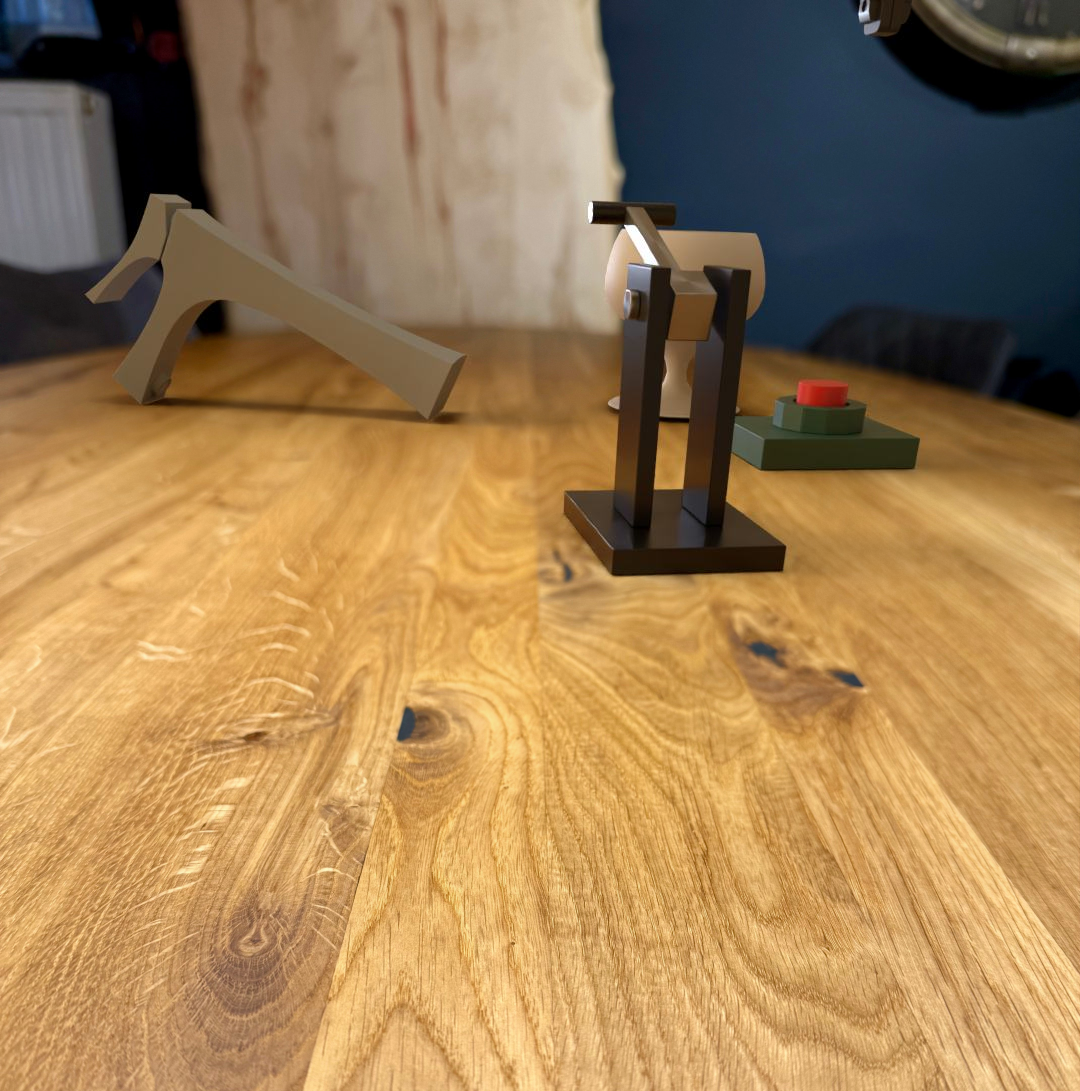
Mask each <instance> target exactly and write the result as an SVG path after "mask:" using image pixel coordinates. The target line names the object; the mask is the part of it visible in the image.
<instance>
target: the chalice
mask: <svg viewBox="0 0 1080 1091" xmlns="http://www.w3.org/2000/svg"><path fill="white" fill-rule="evenodd" d="M657 231H658V232H659V234H660V236H661V237H662V239H663V241H664V242H665V244H666V246H667V247H668V249H669V251H670V252H671V254H672V256H673V257H674V259H675V261H676V262H677V264H678V266H679V267H680V269H681V270H687V271H703V267H704V265H721V266H728V267H735V268H742V269H748V270H751V281H750V290H749V299H748V308H747V317H746V321H748V320H749V319H750V318H751V317H752V316H753V315H754V314H755V313H756V311H757V310H758V309H759V308H760V305H761V303H762V301H763V299H764V295H765V290H766V267H765V258H764V252H763V248H762V245H761V242H760V240H759V239H760V238H759V237H758V235H757V233H755V232H753V233H752V232H735V231H733V232H732V231H710V230H683V229H657ZM629 263H645V262H644V261H643V259H642V257H641V255H640V253H639V251H638V250H637V248H636V246H635V244H634V242H633V241H632V239H631V237H630V235H629V233H628V231H627V230H626V228H621V230H620V232H619V233H618V236H617V237H616V239H615V241H614V244H613V245H612V249H611V252H610V255H609V258H608V262H607V265H606V272H605V276H604V294H605V298H606V302H607V303H608V305H609V307H610V308H611V310H612V311H613V312H614V313H615V314H616V315H617V316H618V317H619V318H620V319H622V320H623V321H624V322H625V316H624V296H625V293H626V291H627V276H628V264H629ZM696 343H697V341H672V340H666V343H665V356H664V362H665V366H666V367H665V368H666V374H665V377H664V380H663V381H662V394H661V406H660V418H666V419H686V420H687V419H690V408H691V397H692V387H691V386H690V384H689V382H688V379H687V378H688V377H687V375H688V374H687V372H688V371H687V370H688V367H689V364H690V362H691V360H692V359H693V357H695V354H696ZM619 403H620V395H618V396H614V397H613V398H611V399H609V401H608V402H607V404H608V405H609V407H611V408H614V409H615V410H618V411H619ZM740 411H741V408H740V407H739V406H738V405H737V407H736V414H738V413H740Z"/></svg>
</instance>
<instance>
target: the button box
mask: <svg viewBox="0 0 1080 1091" xmlns="http://www.w3.org/2000/svg"><path fill="white" fill-rule="evenodd" d="M796 400H797V394H792V395H791V394H790V395H782V396H778V397H777V399H775V402H774V410H773V415H762V416H761V415H758V416H757V415H736V416H735V425H734V434H733V443H732V452H731V454H733V455H736V456H738V457H739V458H740V459H742V460H744V461H746V462H747V463H749V464H750V465H752V466H754V467H755V468H756V469H759V470H761V471H782V470H783V471H788V470H793V471H794V470H796V471H797V470H879V469H880V470H884V469H885V470H886V469H887V470H888V469H889V470H890V469H899V470H900V469H915V468H916V463H917V459H918V453H919V448H920V443H921V438H920V437H918V436H915V435H913V434H911V433H908V432H905V431H903V430H900V429H898V428H895V427H892V426H890V425H887V424H885V423H882V422H880V421H877V420H874V419H872V418H870V417H867V416H866V412H867V406H868V404H867V403H864V402H861V401H858V400H855V399H850V398H847V400H846V406H843V407H822V406H810V405H805V404H799V403H796Z"/></svg>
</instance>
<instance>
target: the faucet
mask: <svg viewBox="0 0 1080 1091" xmlns="http://www.w3.org/2000/svg"><path fill="white" fill-rule="evenodd" d="M160 261H161V266H162V269H163V281H162V287H161V289H160V292H159V295H158V298H157V301H156V303H155V306H154V308H153V310H152V312H151V315H150V317H149V318H148V321H147V322H146V324H145V326H144V328H143V330H142V331H141V333H140V335H139V336H138V338H137V340H136V342H135V343H134V344H133V346H132V348H131V350H130V351H128V354H127V355H126V356H125V358H124V359H123V361H122V362H121V363H120V364H119V366H118V368H117V369H116V370H115V371H114V373H113V374H112V375H111V377H112V378H113V379H114V380H115V381H116V383H118V384H119V385H120V387H122V388H123V389H124V390H125V391H126V392H127V393H128V394H129V395H130V396H131V397H132V398H133V399H134V400H136V401H137V403H138V404H139V405H145V404H147V403H150V402H153V401H156V400H160V399H162V398H165V396H166V392H167V390H168V388H169V387H170V385H171V383H172V378H171V377H172V374H173V372H174V369H175V367H176V363H177V360H178V358H179V356H180V353H181V351H182V348H183V346H184V344H185V342H186V339H187V337H188V335H189V333H190V331H191V330H192V328H193V326H194V324H195V322H196V321H197V320H198V319H199V318H200V315H201V314H203V312H204V311H205V310H206V309H207V308H208V307H210V305H212V304H213V303H215V302H218V301H229V302H235V303H238V304H242V305H244V306H247V307H250V308H252V309H255V310H258V311H260V312H263V313H265V314H267V315H270V316H272V317H274V318H276V319H278V320H280V321H282V322H283V323H285V324H287V325H289V326H291V327H292V328H294V329H296V330H298V331H299V332H302V333H303V334H305V335H306V336H308V337H309V338H311V339H313V340H314V341H316V342H317V343H319V344H321V345H322V346H324V347H326V348H327V349H329V350H330V351H332V352H334V353H335V354H337V355H338V356H340V357H342V358H343V359H344V360H346V361H348V362H349V363H351V364H352V365H353V366H355V367H357V368H358V369H360V370H361V371H363V372H364V373H365V374H367V375H368V376H370V377H372V378H373V379H374V380H376V381H377V382H379V383H380V384H382V385H383V386H385V387H386V388H387V389H388V390H390V391H391V392H392V393H394V394H395V395H397V396H398V397H400V398H401V399H402V400H403V401H404V402H406V403H407V404H408V405H410V406H411V407H412V408H413V409H414V410H415V411H416V412H418V413H419V414H420V415H421V416H422V417H424V418H425V419H426V420H431V419H433V418H435V417H436V416H437V415H439V413H440V412H441V411H442V410H444V409H445V406H446V404H447V402H448V399H449V398H450V396H451V393H452V391H453V389H454V386H455V385H456V383H457V380H458V378H459V375H460V373H461V371H462V370H463V369H462V368H463V367H464V364H465V362H466V360H467V358H468V355H467V354H465V353H462V352H459V351H456V350H453V349H450V348H448V347H445V346H443V345H440V344H437V343H435V342H432V341H430V340H428V339H425V338H423V337H421V336H419V335H417V334H414V333H412V332H410V331H408V330H406V329H403V328H401V327H400V326H398V325H395V324H393V323H390V322H388V321H387V320H385V319H383V318H381V317H379V316H376V315H374V314H372V313H370V312H369V311H366V310H364V309H362V308H360V307H358V306H356V305H354V304H353V303H350V302H349V301H347V300H345V299H343V298H342V297H340V296H338V295H336V294H333V293H331V292H329V291H328V290H326V289H324V288H322V287H320V286H319V285H317V284H315V283H313V282H311V281H309V280H308V279H306V278H305V277H303V276H302V275H299V274H298V273H296V272H295V271H293V270H292V269H290V268H289V267H287V266H285V265H283V264H282V263H281V262H279V261H277V260H275V259H274V258H272V257H271V256H269V255H268V254H266V253H265V252H262V250H259V249H258V248H256V246H254V245H252V244H251V243H249V242H248V241H246V240H244V239H243V238H241V237H240V236H239V235H237V234H235V233H234V232H233V231H231V230H230V229H229V228H227V227H226V226H224V225H223V224H221V223H220V222H219V221H218V220H217V219H215V218H213V217H212V216H211V215H210V214H209V213H207V212H206V211H205V210H204V209H199V208H198V209H197V208H192V203H191V202H190V201H189V200H186V199H185V198H183V197H181V196H179V195H178V194H161V193H150V194H149V197H148V201H147V204H146V207H145V210H144V214H143V216H142V219H141V221H140V225H139V227H138V229H137V233H136V234H135V237H134V239H133V240H132V243H131V244H130V246H129V248H128V249H127V251H126V252H125V253H124V255H123V256H122V258H121V260H120V261H119V262H118V263H117V264H116V265H115V266H114V267H113V268H112V269H111V271H109V272H108V273H107V274H106V276H104V277H103V278H102V279H101V280H99V282H97V284H96V285H94V286H93V287H92V288H90V289H89V291H87V292H86V293H85V294H84V295H85V296H86V298H88V299H89V300H90V302H91V303H92V304H94V305H95V304H102V303H109V302H115V301H122V300H123V298H124V297H125V296H126V294H127V293H128V292H129V291H130V289H131V288H132V287H133V285H134V284H136V282H137V281H138V280H139V279H140V278H141V277H142V276H143V274H145V272H147V271H148V270H149V269H150V268H152V267H153V266H154V265H155V264H156V263H158V262H160Z"/></svg>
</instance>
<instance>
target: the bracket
mask: <svg viewBox="0 0 1080 1091" xmlns="http://www.w3.org/2000/svg"><path fill="white" fill-rule="evenodd" d="M703 272H704V274H705V275H706V277H707V278H708V280H709V281H710V283H711V285H712V286H713V288H714V289H715V291H716V292H717V294H718V297H717V301H716V306H715V311H714V315H713V320H712V324H711V329H710V334H709V338H708V341H697V343H696V353H695V355H694V366H693V378H692V386H691V389H692V397H691V408H690V419H689V421H688V429H687V430H688V431H687V439H686V441H687V442H686V452H685V454H686V455H685V461H684V462H685V464H684V475H683V485H682V488H668V489H667V488H665V489H664V488H663V489H659V488H658V489H657V488H656V489H655V480H656V479H655V478H656V468H657V454H658V441H659V429H660V428H659V427H660V418H661V417H660V406H661V394H662V383H663V382H664V380H663V379H664V366H665V359H664V356H665V343H666V331H667V318H668V306H669V293H670V281H671V268H669V267H663V266H658V265H652V264H646V263H629V264H628V276H627V291H626V293H625V296H624V316H625V321H624V325H623V341H622V342H623V343H622V354H621V355H622V357H621V370H620V371H621V372H620V373H621V374H620V387H619V388H620V389H619V396H620V403H619V410H618V420H617V421H618V422H617V438H616V450H615V452H616V453H615V466H614V467H615V468H614V484H613V487H614V488H613V489H590V490H586V489H585V490H579V489H577V490H564V492H563V513H564V514H565V516H566V517H567V519H568V520H569V521H570V522H571V523H572V525H573V527H575V529H576V530H577V531H578V533H579V534H580V535H581V537H582V538H583V539H584V541H585V542H586V543H587V545H589V547H590V548H591V550H592V551H593V552H594V554H595V555H596V556H597V557H598V559H599V561H601V562H602V564H603V565H604V567H605V568H606V569H607V571H608V572H609V573H610V574H611V575H612V576H621V575H625V576H626V575H658V574H661V575H662V574H692V573H693V574H694V573H695V574H696V573H697V574H698V573H728V572H729V573H730V572H731V573H732V572H734V573H735V572H765V571H767V572H768V571H769V572H771V571H783V570H784V567H785V560H786V554H787V545H786V544H785V543H784V542H782V541H781V540H779V539H778V538H777V537H775V536H774V535H773V534H771V533H770V532H769V531H767V530H766V529H765V528H764V527H762V526H760V525H759V524H758V523H756V522H755V521H753V520H752V519H751V518H749V517H748V516H747V515H745V514H744V513H743V512H742V511H740V510H739V509H737V508H736V507H735V506H733V505H732V504H730V503H729V502H728V501H727V495H728V485H729V477H730V470H731V462H732V461H731V460H732V443H733V434H734V425H735V416H737V413H736V407H737V406H738V397H739V389H740V388H739V387H740V378H741V370H742V360H743V352H744V344H745V334H746V325H747V320H746V317H747V308H748V299H749V290H750V281H751V270H748V269H742V268H735V267H728V266H721V265H704V267H703Z"/></svg>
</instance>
